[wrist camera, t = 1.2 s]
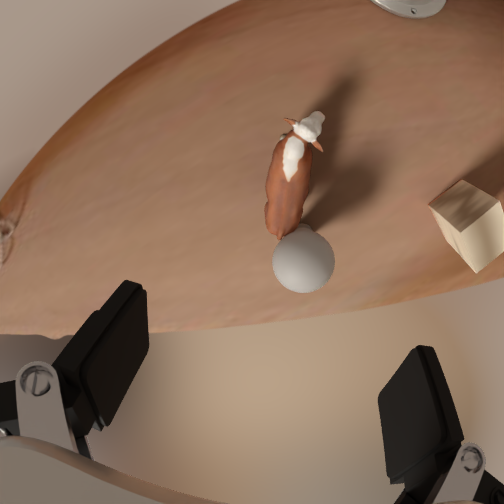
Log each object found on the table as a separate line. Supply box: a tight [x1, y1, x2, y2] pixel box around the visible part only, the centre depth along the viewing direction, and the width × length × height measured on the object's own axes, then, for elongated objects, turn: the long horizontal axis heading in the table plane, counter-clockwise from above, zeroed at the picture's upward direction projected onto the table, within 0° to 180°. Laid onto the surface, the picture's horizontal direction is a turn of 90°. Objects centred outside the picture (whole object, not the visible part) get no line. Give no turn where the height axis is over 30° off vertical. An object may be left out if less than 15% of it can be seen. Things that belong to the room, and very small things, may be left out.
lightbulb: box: [272, 223, 335, 293], centre depth 31 cm, size 6×6×11 cm
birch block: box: [428, 179, 504, 273], centre depth 28 cm, size 6×6×9 cm
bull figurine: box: [264, 111, 325, 240], centre depth 29 cm, size 4×13×8 cm, turn 168°
